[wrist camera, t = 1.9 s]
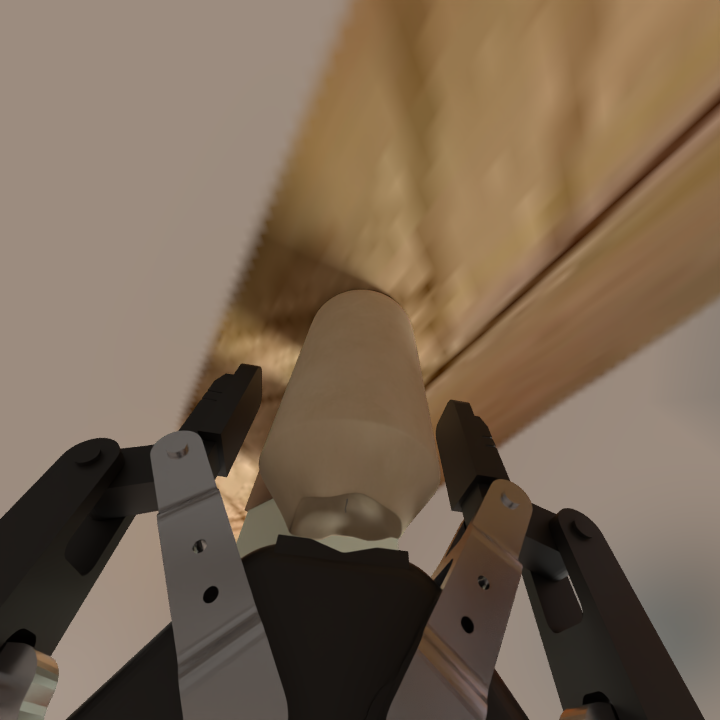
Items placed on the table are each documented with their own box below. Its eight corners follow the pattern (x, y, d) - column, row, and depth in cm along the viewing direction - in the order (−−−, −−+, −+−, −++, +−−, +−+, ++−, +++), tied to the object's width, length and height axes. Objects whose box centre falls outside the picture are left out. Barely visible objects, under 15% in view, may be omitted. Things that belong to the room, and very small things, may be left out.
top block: (322, 474, 15) (302, 591, 11) (397, 523, 18) (402, 633, 14) (248, 510, 18) (210, 616, 14) (323, 549, 21) (309, 646, 17)
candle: (325, 380, 18) (280, 572, 10) (298, 296, 15) (199, 477, 7) (416, 370, 17) (451, 571, 9) (408, 279, 14) (451, 461, 6)
